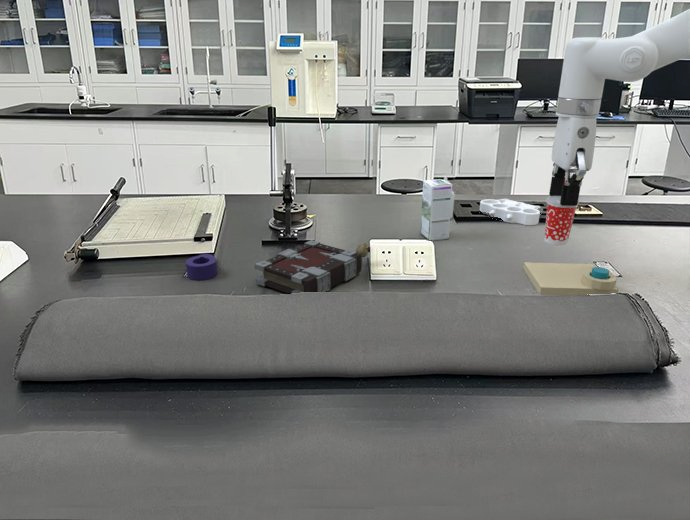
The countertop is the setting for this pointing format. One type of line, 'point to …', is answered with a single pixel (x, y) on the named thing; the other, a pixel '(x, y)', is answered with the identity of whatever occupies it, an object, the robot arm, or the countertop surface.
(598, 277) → the button
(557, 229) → the beverage cup
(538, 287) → the scale
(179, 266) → the countertop surface
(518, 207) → the white tube rack
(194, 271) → the purple thick ring
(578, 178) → the robot arm
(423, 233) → the syrup box
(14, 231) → the countertop surface
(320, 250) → the book
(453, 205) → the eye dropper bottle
